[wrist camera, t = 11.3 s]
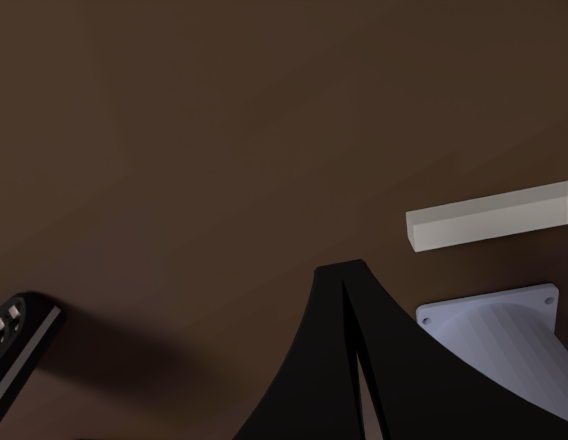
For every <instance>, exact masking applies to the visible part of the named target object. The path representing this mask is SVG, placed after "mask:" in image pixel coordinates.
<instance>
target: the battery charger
mask: <svg viewBox="0 0 568 440" xmlns="http://www.w3.org/2000/svg"><path fill="white" fill-rule="evenodd" d="M66 319H67V317H66V315H65V314H64V313H62V312H61V309H59V308H58V307H56V306H52V305H51V304H49V303H48V302H47V301H45V300H43V299H41V298H39V297H38V296H35V295H33V294H30V293H18V294H16V295H14V296H13V297H11V298H10V299H9V300H7V301H6V302H5V303H4V304H3V305H2V306H0V422H1V421H2V419H3V417H4V416H5V414H6V413H7V411H8V410H9V408H10V407H11V405H12V404H13V402H14V400H15V399H16V397H17V396H18V394H19V393H20V391H21V389H22V388H23V386H24V385H25V383H26V382H27V380H28V378H29V377H30V375H31V374H32V372H33V371H34V369H35V367H36V366H37V364H38V363H39V361H40V359H41V358H42V356H43V355H44V353H45V352H46V350H47V349H48V347H49V346H50V344H51V343H52V341H53V340H54V338H55V337H56V335H57V334H58V332H59V331H60V329H61V328H62V326H63V324H64V323H65V322H66Z"/></svg>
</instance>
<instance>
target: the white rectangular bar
mask: <svg viewBox="0 0 568 440" xmlns="http://www.w3.org/2000/svg"><path fill="white" fill-rule="evenodd" d="M406 220H407V231H408V238H409V240H410V242H411V244H412V246H413V248H414V250H415V252H418V251H424V250H429V249H434V248H440V247H445V246H451V245H456V244H462V243H467V242H472V241H478V240H483V239H489V238H494V237H500V236H505V235H510V234H516V233H521V232H527V231H532V230H538V229H543V228H548V227H554V226H559V225H565V224H568V181H564V182H559V183H554V184H549V185H544V186H539V187H534V188H528V189H523V190H518V191H513V192H508V193H503V194H498V195H492V196H487V197H482V198H477V199H472V200H467V201H462V202H456V203H451V204H446V205H441V206H436V207H431V208H426V209H420V210H415V211H410V212H406Z"/></svg>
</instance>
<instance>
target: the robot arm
mask: <svg viewBox="0 0 568 440" xmlns="http://www.w3.org/2000/svg"><path fill="white" fill-rule="evenodd" d="M558 296H559V290H558V288H557V287H556V286H555V285H554V284H542V285H536V286H531V287H525V288H519V289H513V290H507V291H501V292H495V293H490V294H484V295H478V296H472V297H466V298H460V299H454V300H449V301H443V302H437V303H431V304H425V305H422V306H420V307H418V309H417V310H416V317H417V322H416V321H414V320H413V319H412V318H411V317H410V316H409V315H408V314H407V313H406V312H405V311H404V310H403V309H402V308H401V307H400V306H399V305H398V304H397V302H396V301H395V300H394V299H393V298H392V297H391V296H390V295H389V294H388V293H387V291H386V290H385V289H384V288H383V287H382V285H381V284H380V283H379V282H378V280H377V279H376V278H375V276H374V275H373V274H372V272H371V271H370V269H369V268H368V266H367V265H366V263H365V261H363V260H361V259H358V260H353V261H347V262H342V263H337V264H331V265H326V266H320V267H317V268H316V270H315V271H314V279H313V285H312V289H311V293H310V297H309V300H308V303H307V306H306V310H305V313H304V316H303V319H302V321H301V324H300V326H299V329H298V331H297V334H296V336H295V338H294V341H293V343H292V345H291V348H290V350H289V352H288V354H287V356H286V358H285V360H284V362H283V364H282V366H281V367H280V369H279V371H278V373H277V375H276V376H275V378H274V380H273V381H272V383H271V385H270V386H269V388H268V390H267V391H266V393H265V395H264V396H263V398H262V399H261V401H260V402H259V404H258V405H257V407H256V408H255V409H254V411H253V412H252V414H251V415H250V416H249V418H248V419H247V420H246V422H245V423H244V424H243V426H242V427H241V429H240V430H239V431H238V433H237V434H236V435H235V436H234V438H233V439H232V440H366V438H365V431H364V423H363V413H362V403H361V393H360V383H359V373H358V363H357V354H358V358H359V361H360V364H361V367H362V370H363V374H364V377H365V380H366V383H367V386H368V390H369V393H370V396H371V399H372V403H373V406H374V409H375V412H376V415H377V419H378V422H379V425H380V429H381V433H382V437H383V440H568V351H567V350H566V349H565V347H564V346H563V345H562V344H561V342H560V341H559V340H558V339H557V337H556V336H555V335H554V329H555V321H556V312H557V304H558ZM549 297H550V298H549ZM547 298H549V299H547ZM546 299H547V300H546ZM425 318H428V319H426V320H424V319H425ZM356 351H357V353H356Z"/></svg>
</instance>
